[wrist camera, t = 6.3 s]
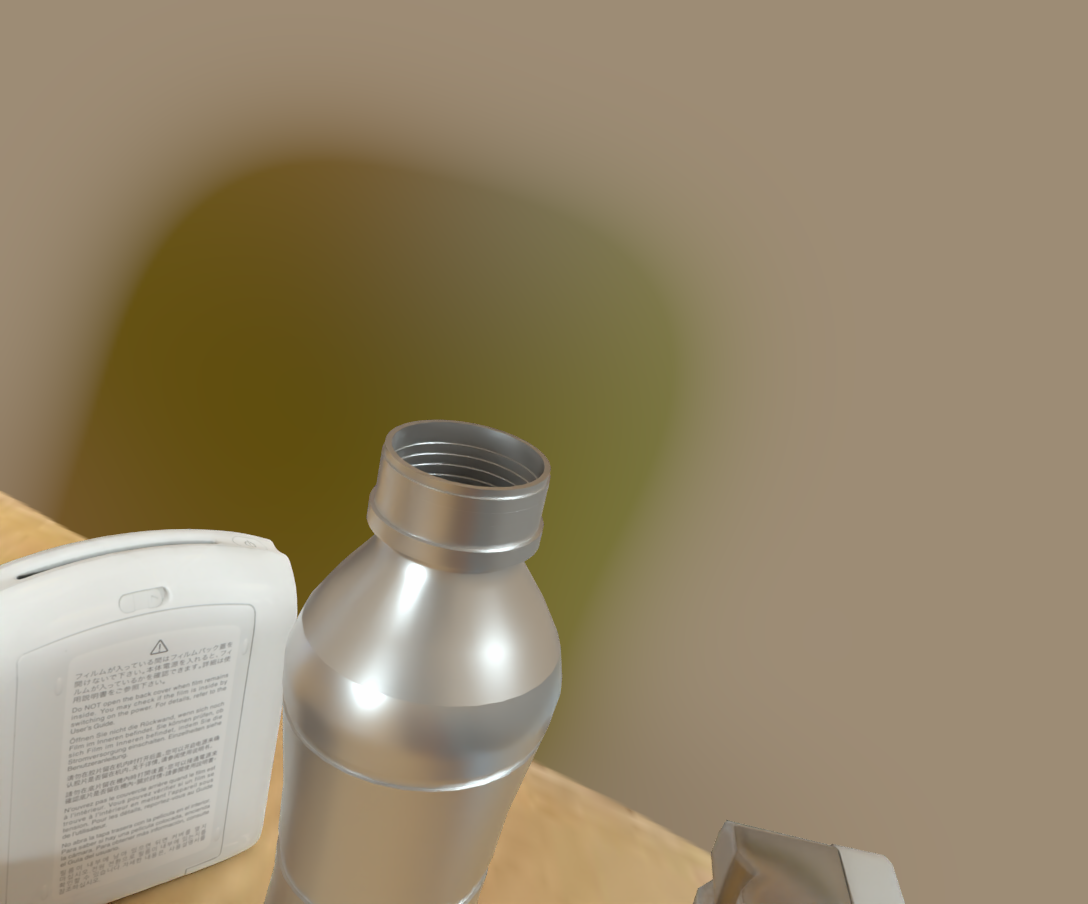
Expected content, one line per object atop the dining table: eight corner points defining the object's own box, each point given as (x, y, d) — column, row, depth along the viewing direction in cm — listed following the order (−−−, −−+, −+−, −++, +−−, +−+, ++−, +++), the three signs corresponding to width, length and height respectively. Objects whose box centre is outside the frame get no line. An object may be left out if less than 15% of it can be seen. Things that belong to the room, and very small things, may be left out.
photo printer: (229, 775, 39) (267, 490, 34) (279, 850, 36) (328, 550, 32) (-78, 871, 32) (-81, 531, 28) (-46, 972, 29) (-43, 613, 25)
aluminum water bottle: (165, 1069, 28) (246, 411, 21) (359, 949, 33) (479, 384, 26) (297, 1270, 24) (451, 556, 17) (493, 1101, 29) (678, 491, 22)
